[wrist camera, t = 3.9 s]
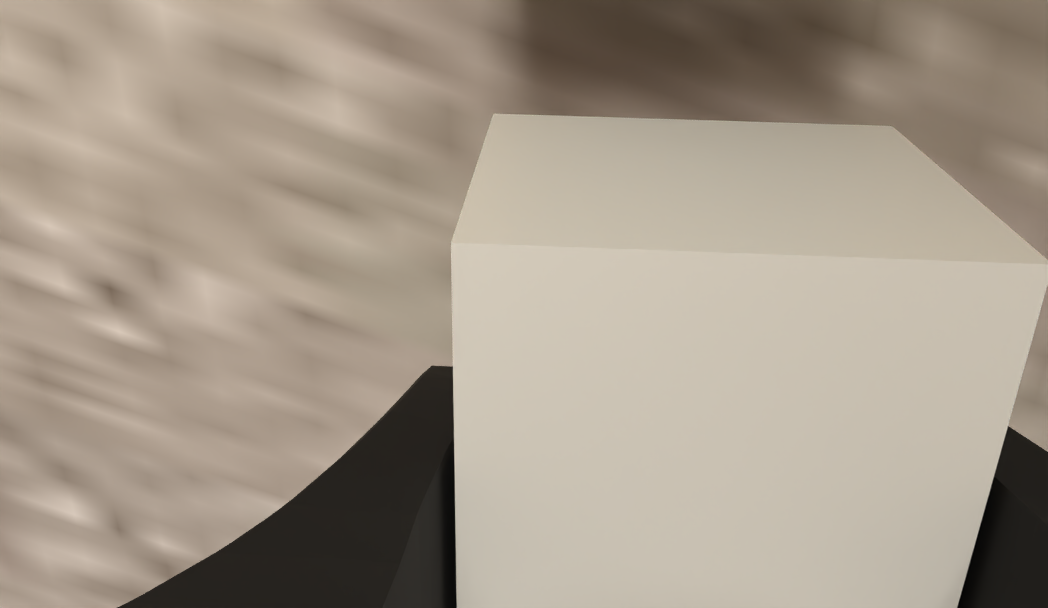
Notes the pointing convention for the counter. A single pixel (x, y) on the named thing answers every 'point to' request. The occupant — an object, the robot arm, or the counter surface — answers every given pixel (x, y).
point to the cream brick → (726, 366)
